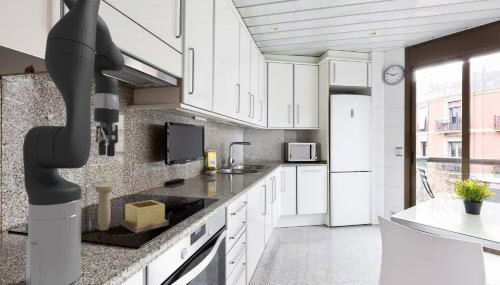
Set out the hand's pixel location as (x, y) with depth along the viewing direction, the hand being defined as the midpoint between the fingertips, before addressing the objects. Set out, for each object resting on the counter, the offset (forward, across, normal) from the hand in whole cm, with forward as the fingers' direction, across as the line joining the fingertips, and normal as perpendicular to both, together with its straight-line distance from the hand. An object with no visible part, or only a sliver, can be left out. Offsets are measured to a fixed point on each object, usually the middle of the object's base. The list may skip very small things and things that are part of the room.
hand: (106, 155), depth 91 cm
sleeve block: (+25, +5, +12) cm, 28 cm away
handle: (+25, 0, 0) cm, 25 cm away
